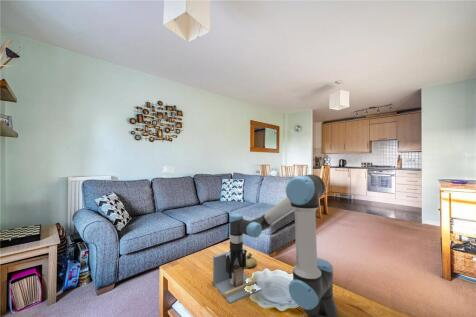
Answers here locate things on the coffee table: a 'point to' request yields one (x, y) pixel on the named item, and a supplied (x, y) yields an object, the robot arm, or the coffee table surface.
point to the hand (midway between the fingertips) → (236, 281)
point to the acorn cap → (250, 261)
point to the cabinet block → (237, 275)
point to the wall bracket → (223, 280)
